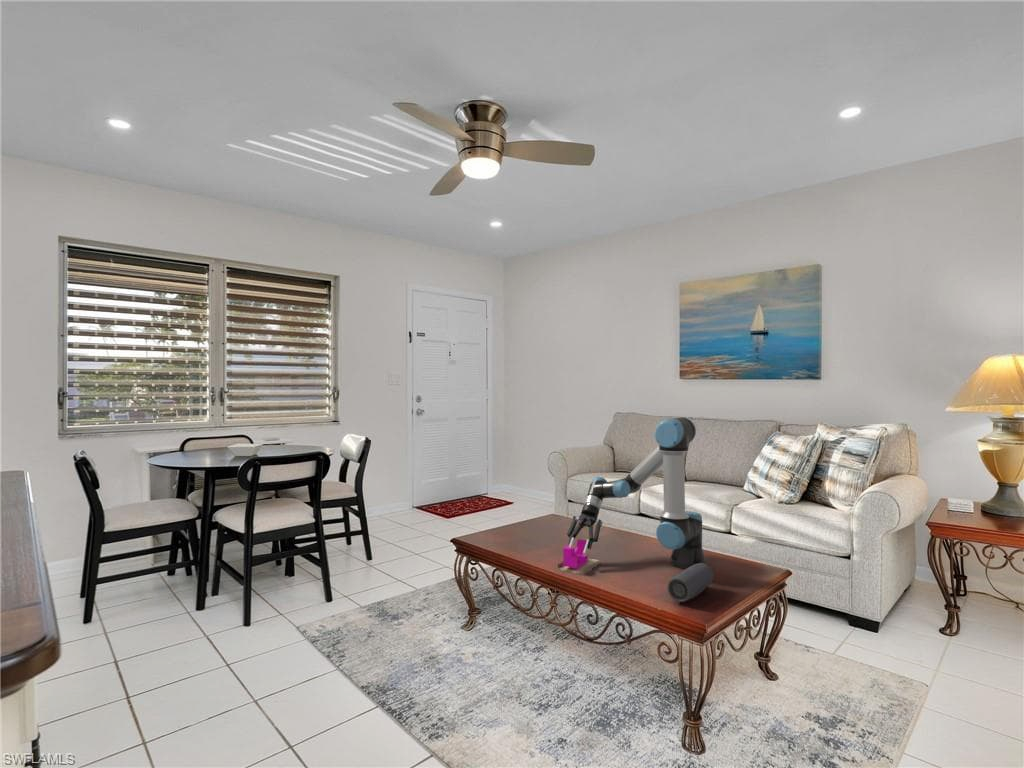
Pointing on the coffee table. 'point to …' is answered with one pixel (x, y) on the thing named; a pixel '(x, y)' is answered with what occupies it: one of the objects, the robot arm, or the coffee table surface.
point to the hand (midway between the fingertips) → (577, 553)
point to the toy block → (575, 555)
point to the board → (580, 570)
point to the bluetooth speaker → (690, 582)
